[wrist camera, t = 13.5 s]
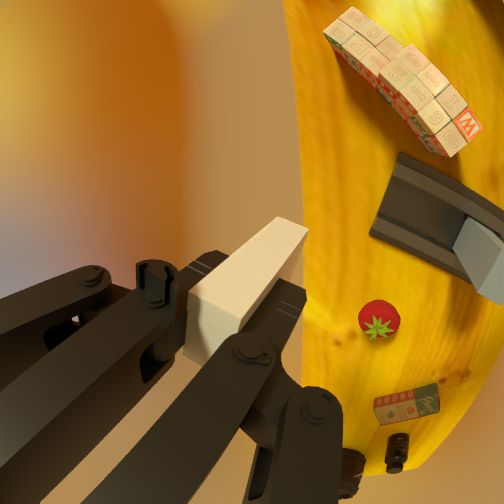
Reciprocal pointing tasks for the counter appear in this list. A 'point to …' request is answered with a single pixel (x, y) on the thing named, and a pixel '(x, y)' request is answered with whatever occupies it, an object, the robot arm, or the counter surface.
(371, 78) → the stack of blocks
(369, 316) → the strawberry
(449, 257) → the chute
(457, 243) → the grey rectangular block
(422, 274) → the counter surface
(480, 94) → the counter surface
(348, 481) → the wooden barrel
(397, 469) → the supplement bottle
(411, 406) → the carton
